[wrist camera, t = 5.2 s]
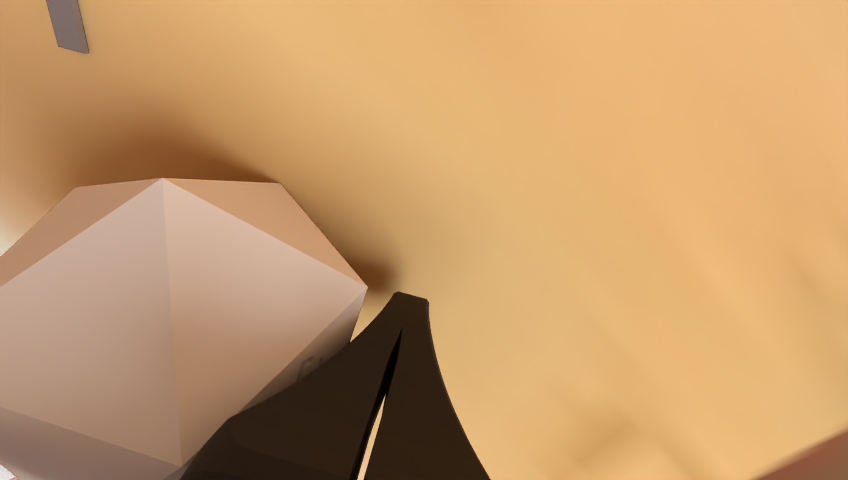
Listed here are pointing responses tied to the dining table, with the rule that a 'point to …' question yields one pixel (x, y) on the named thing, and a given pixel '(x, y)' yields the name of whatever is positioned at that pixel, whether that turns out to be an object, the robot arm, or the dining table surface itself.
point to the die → (159, 323)
